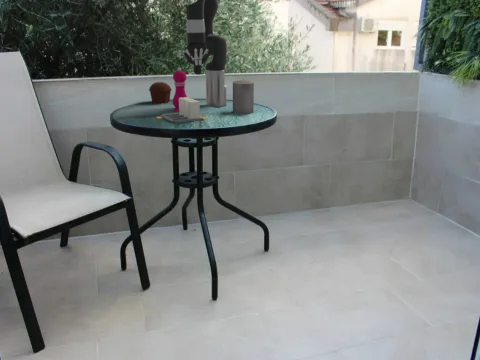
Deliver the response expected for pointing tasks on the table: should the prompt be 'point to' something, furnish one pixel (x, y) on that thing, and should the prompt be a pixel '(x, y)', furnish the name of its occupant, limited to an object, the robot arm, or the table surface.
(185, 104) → the tab middle
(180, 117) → the switch box
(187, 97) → the tab inner
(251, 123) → the table surface
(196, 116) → the block
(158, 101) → the muffin
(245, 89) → the pillar candle
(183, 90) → the pepper mill
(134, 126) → the table surface
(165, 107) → the table surface
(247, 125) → the table surface
